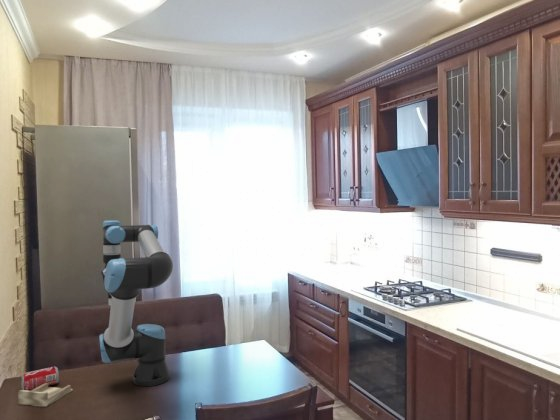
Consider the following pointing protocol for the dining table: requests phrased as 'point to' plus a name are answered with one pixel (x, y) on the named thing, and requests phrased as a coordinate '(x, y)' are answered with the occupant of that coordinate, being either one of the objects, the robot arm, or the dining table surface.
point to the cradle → (42, 395)
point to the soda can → (39, 378)
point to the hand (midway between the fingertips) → (112, 304)
